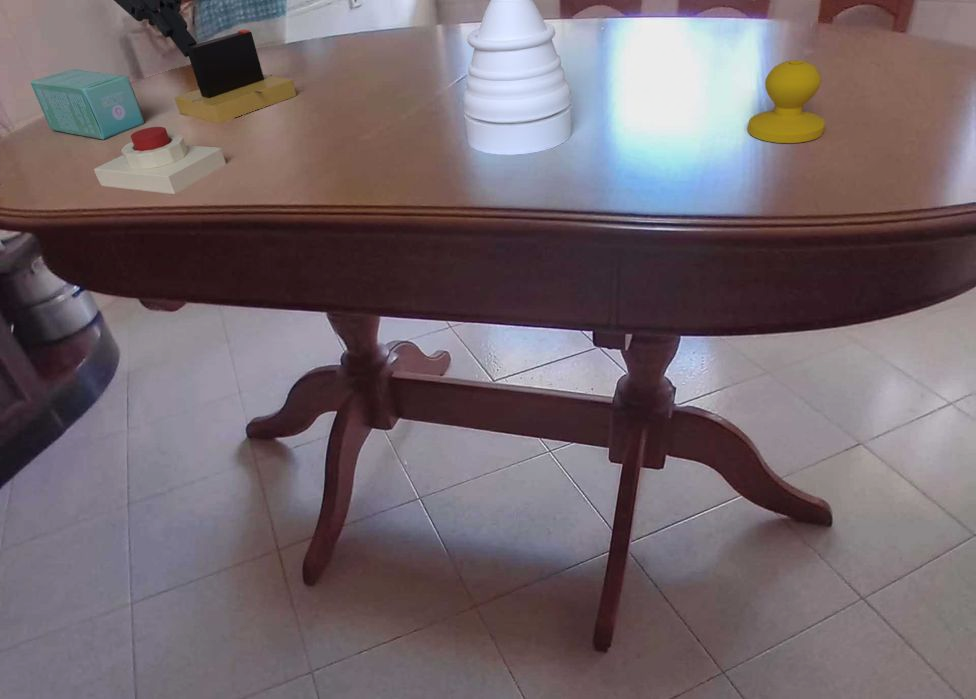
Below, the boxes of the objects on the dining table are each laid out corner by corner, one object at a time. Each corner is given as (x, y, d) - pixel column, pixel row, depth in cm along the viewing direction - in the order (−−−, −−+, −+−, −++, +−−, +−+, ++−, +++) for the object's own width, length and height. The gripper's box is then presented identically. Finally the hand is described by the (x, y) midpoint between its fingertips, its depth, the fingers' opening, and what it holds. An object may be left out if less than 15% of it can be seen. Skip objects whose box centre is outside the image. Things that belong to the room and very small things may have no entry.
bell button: (128, 151, 83) (122, 137, 82) (153, 139, 86) (148, 125, 85) (153, 154, 82) (148, 139, 81) (178, 141, 85) (172, 127, 84)
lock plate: (225, 125, 100) (219, 106, 99) (173, 112, 108) (167, 95, 107) (303, 96, 109) (299, 79, 107) (250, 86, 116) (245, 70, 115)
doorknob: (786, 149, 75) (732, 130, 81) (839, 131, 78) (783, 114, 83) (798, 77, 70) (740, 62, 76) (854, 61, 73) (793, 48, 79)
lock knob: (208, 98, 103) (192, 46, 99) (201, 96, 104) (184, 45, 100) (264, 79, 109) (251, 29, 105) (256, 78, 110) (243, 29, 106)
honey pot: (476, 119, 92) (461, -35, 82) (574, 115, 90) (572, -43, 79) (457, 156, 82) (437, -14, 71) (568, 153, 80) (563, -24, 69)
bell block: (100, 186, 85) (86, 154, 83) (155, 158, 91) (143, 128, 89) (174, 194, 80) (162, 161, 78) (226, 164, 87) (216, 133, 85)
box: (104, 141, 99) (81, 87, 95) (50, 132, 106) (27, 81, 101) (147, 124, 104) (128, 72, 100) (93, 117, 111) (73, 67, 106)
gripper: (131, -64, 111) (223, 55, 111) (48, -51, 103) (148, 78, 104) (134, -106, 105) (232, 21, 105) (47, -94, 97) (153, 42, 98)
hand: (190, 49), depth 104 cm, fingers closed
